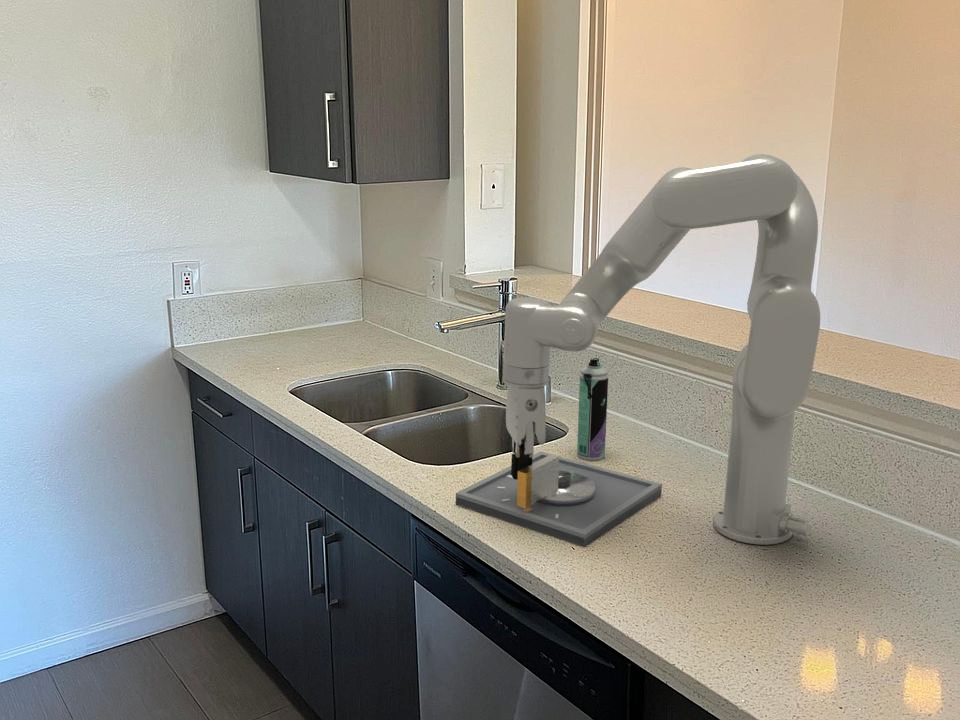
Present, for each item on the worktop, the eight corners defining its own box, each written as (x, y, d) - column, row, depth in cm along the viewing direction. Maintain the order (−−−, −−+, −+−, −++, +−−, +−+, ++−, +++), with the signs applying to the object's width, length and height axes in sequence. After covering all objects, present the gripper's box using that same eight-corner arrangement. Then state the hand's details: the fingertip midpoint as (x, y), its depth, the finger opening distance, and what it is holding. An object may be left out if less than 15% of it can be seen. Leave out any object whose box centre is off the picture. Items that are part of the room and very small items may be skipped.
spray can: (603, 462, 179) (608, 363, 174) (575, 459, 180) (579, 361, 175) (605, 452, 184) (610, 356, 179) (578, 450, 185) (581, 354, 180)
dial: (549, 473, 169) (550, 435, 167) (607, 489, 162) (609, 449, 160) (491, 505, 155) (492, 464, 153) (552, 524, 148) (553, 481, 146)
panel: (661, 495, 163) (662, 483, 163) (584, 547, 144) (585, 534, 143) (540, 462, 179) (540, 451, 178) (455, 504, 159) (455, 492, 158)
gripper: (559, 386, 144) (553, 494, 149) (537, 361, 158) (532, 460, 163) (513, 387, 143) (508, 496, 148) (494, 361, 157) (491, 462, 162)
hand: (521, 477), depth 156 cm, fingers closed
